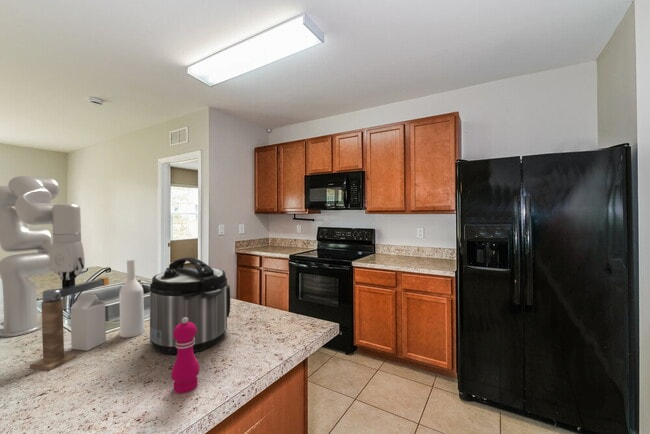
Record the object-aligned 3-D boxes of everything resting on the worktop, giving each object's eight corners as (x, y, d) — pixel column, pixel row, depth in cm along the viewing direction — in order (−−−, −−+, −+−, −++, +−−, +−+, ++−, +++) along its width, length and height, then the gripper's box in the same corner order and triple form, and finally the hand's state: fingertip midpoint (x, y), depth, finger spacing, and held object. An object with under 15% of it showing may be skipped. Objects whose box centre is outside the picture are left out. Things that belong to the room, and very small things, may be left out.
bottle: (129, 328, 123) (128, 257, 122) (148, 329, 123) (147, 258, 122) (115, 337, 115) (113, 261, 114) (134, 338, 114) (133, 261, 113)
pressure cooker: (232, 351, 104) (231, 262, 103) (140, 365, 95) (138, 268, 94) (229, 320, 132) (228, 250, 131) (158, 329, 123) (157, 254, 122)
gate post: (50, 370, 92) (48, 305, 91) (29, 367, 93) (27, 304, 92) (76, 357, 100) (74, 297, 99) (56, 355, 101) (55, 296, 100)
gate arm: (50, 302, 93) (49, 293, 93) (38, 301, 94) (38, 292, 94) (110, 284, 114) (110, 277, 114) (100, 284, 115) (100, 276, 115)
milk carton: (87, 351, 104) (86, 298, 103) (71, 349, 105) (69, 296, 105) (106, 342, 111) (105, 292, 110) (90, 340, 112) (89, 291, 112)
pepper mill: (177, 379, 87) (177, 313, 86) (203, 378, 87) (202, 312, 87) (166, 395, 80) (165, 322, 79) (194, 394, 80) (193, 321, 80)
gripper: (38, 239, 101) (39, 292, 102) (74, 240, 98) (75, 294, 99) (61, 237, 109) (62, 286, 109) (95, 238, 106) (96, 288, 106)
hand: (68, 290), depth 104 cm, fingers closed
